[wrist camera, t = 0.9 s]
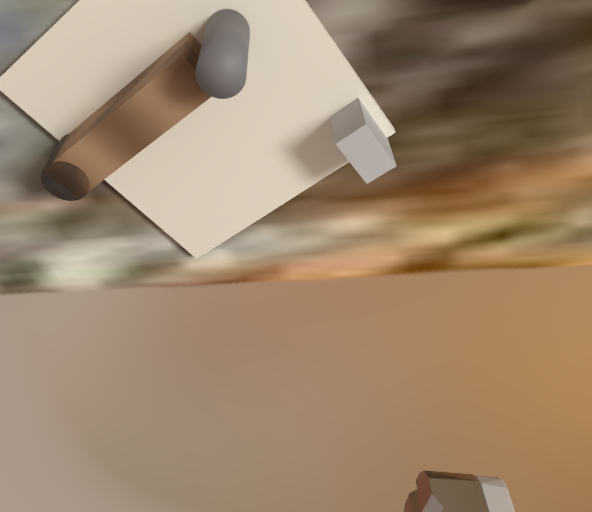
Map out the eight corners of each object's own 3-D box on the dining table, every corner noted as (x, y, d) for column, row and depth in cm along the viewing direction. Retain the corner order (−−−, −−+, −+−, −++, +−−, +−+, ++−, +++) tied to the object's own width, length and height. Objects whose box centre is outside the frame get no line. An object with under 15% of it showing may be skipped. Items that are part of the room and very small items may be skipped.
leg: (188, 30, 36) (180, 53, 33) (221, 69, 38) (217, 94, 34) (49, 148, 41) (31, 178, 38) (83, 177, 43) (69, 208, 40)
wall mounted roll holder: (-3, 79, 38) (-53, 134, 32) (214, -132, 31) (200, -110, 25) (197, 252, 49) (187, 317, 43) (393, 127, 42) (413, 184, 36)
